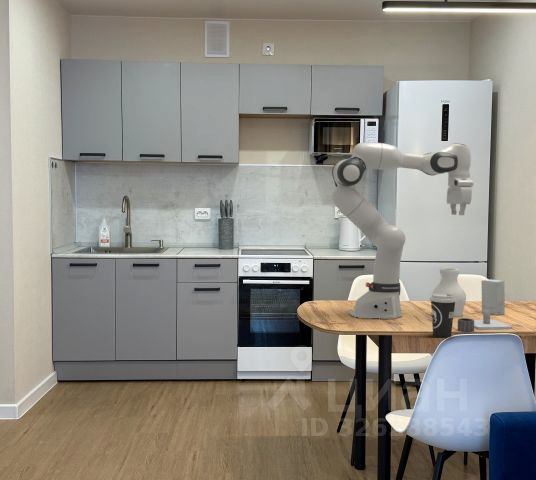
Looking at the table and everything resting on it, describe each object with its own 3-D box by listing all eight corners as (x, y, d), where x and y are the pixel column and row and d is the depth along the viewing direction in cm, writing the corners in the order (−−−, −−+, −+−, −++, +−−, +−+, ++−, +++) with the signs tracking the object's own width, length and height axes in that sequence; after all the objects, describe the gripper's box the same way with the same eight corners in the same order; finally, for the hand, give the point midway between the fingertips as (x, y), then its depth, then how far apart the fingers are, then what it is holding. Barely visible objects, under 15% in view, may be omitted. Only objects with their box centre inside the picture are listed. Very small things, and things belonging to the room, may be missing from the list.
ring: (461, 331, 245) (462, 321, 245) (455, 328, 251) (455, 318, 251) (476, 331, 246) (477, 321, 246) (469, 328, 252) (469, 318, 252)
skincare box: (504, 314, 284) (506, 280, 283) (496, 315, 280) (497, 281, 279) (488, 311, 291) (490, 278, 290) (480, 312, 287) (481, 279, 286)
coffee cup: (448, 339, 232) (449, 297, 231) (424, 335, 239) (425, 294, 238) (460, 335, 239) (461, 294, 238) (436, 331, 246) (437, 292, 245)
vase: (426, 311, 288) (427, 267, 286) (457, 311, 289) (459, 267, 288) (438, 317, 274) (439, 270, 272) (470, 317, 275) (472, 270, 274)
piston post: (478, 329, 250) (478, 314, 249) (462, 322, 263) (462, 308, 263) (511, 329, 252) (512, 313, 251) (494, 322, 265) (494, 307, 265)
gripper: (443, 182, 285) (442, 214, 286) (459, 181, 264) (458, 215, 265) (457, 183, 285) (456, 214, 286) (475, 182, 265) (473, 215, 266)
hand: (457, 215), depth 275 cm, fingers open, 8 cm apart
